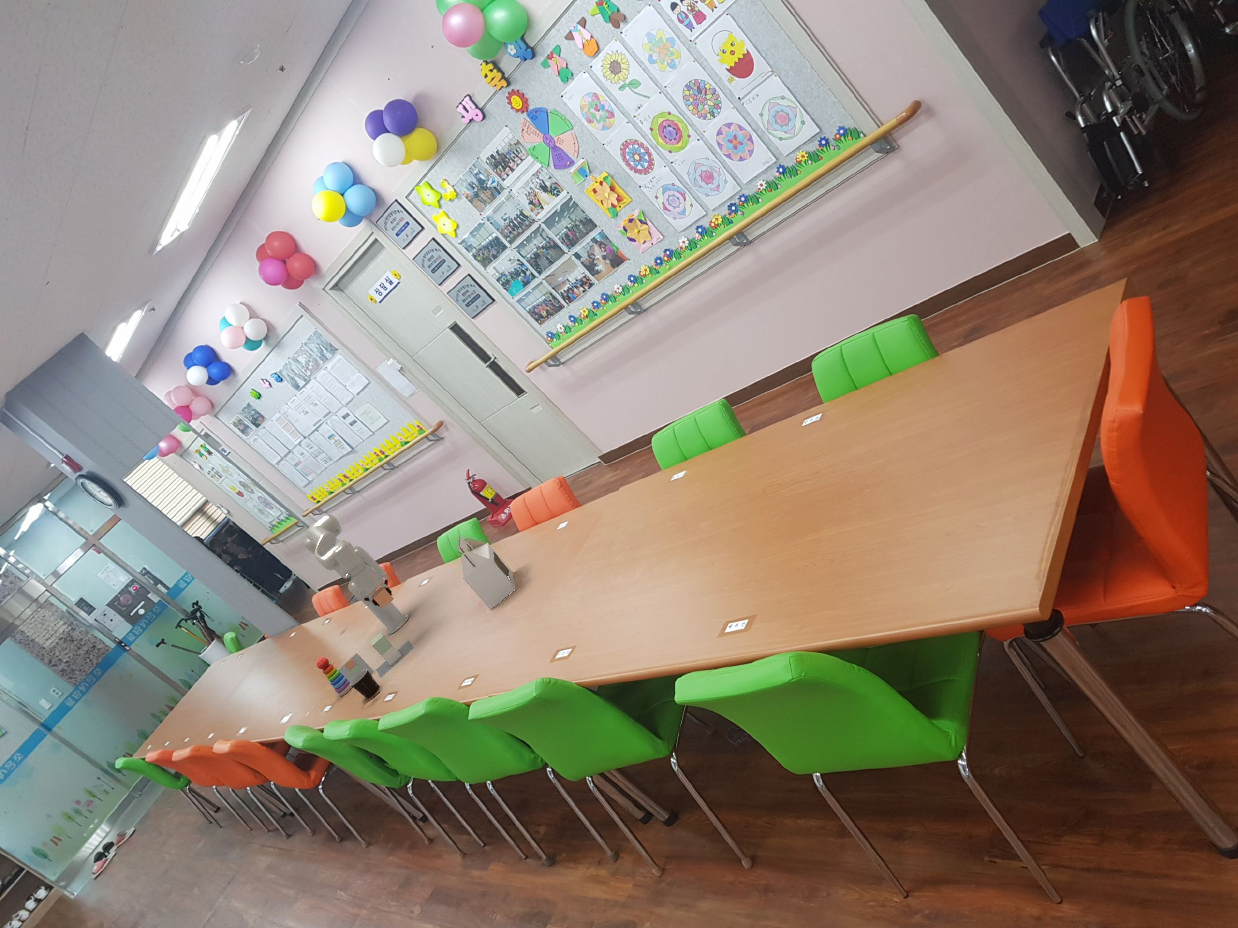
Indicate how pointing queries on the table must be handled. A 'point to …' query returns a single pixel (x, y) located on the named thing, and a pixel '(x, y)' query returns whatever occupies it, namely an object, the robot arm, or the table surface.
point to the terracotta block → (382, 597)
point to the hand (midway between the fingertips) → (385, 600)
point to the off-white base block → (391, 655)
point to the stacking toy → (334, 677)
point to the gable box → (485, 571)
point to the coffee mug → (365, 684)
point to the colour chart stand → (354, 667)
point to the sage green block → (381, 643)
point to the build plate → (386, 667)
